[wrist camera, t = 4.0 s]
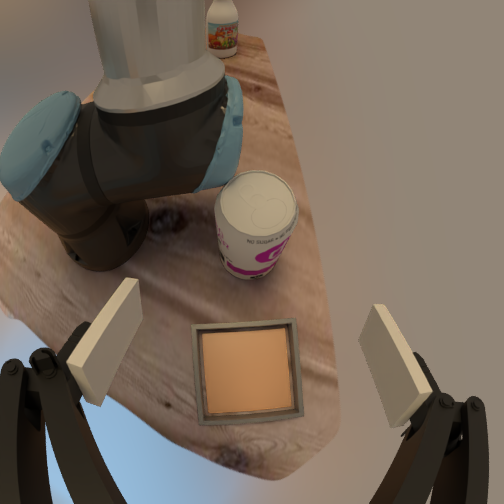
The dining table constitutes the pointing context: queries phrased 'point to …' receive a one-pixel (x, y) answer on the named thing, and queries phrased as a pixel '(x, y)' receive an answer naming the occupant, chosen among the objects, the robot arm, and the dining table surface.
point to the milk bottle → (222, 28)
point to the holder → (247, 372)
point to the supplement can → (254, 222)
